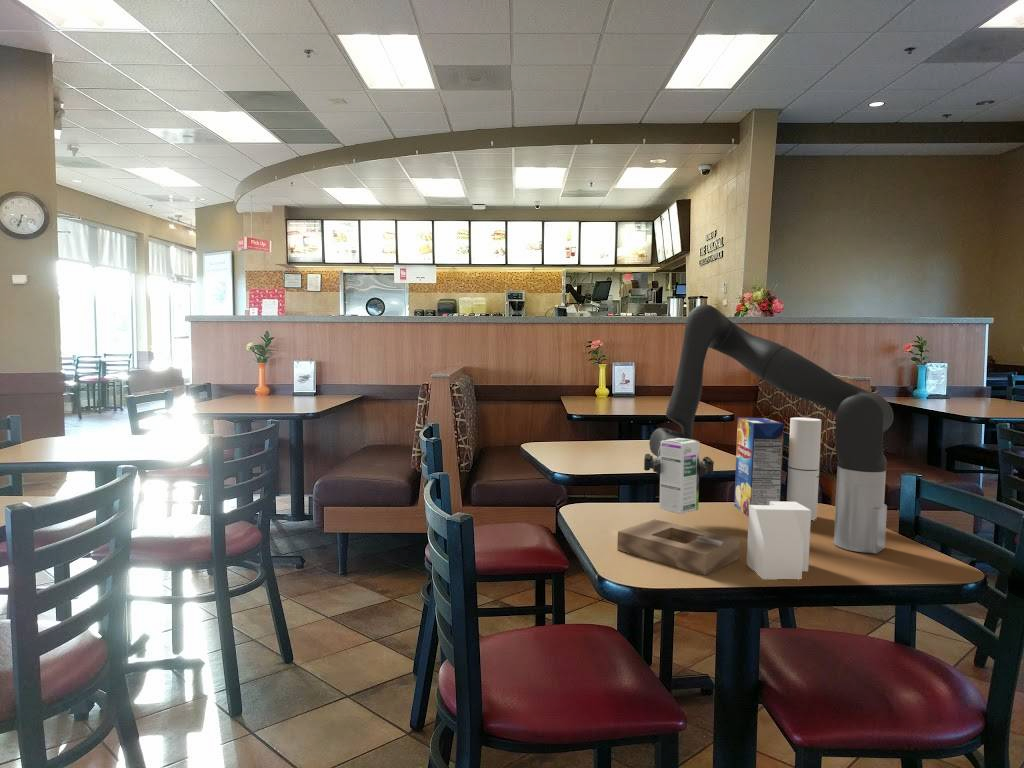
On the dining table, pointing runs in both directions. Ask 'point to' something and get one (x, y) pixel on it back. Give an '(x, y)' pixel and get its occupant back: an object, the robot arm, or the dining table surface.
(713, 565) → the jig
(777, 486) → the juice carton
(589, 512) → the dining table surface
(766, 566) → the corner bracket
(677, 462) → the syrup box
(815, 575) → the dining table surface
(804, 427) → the cylindrical container
